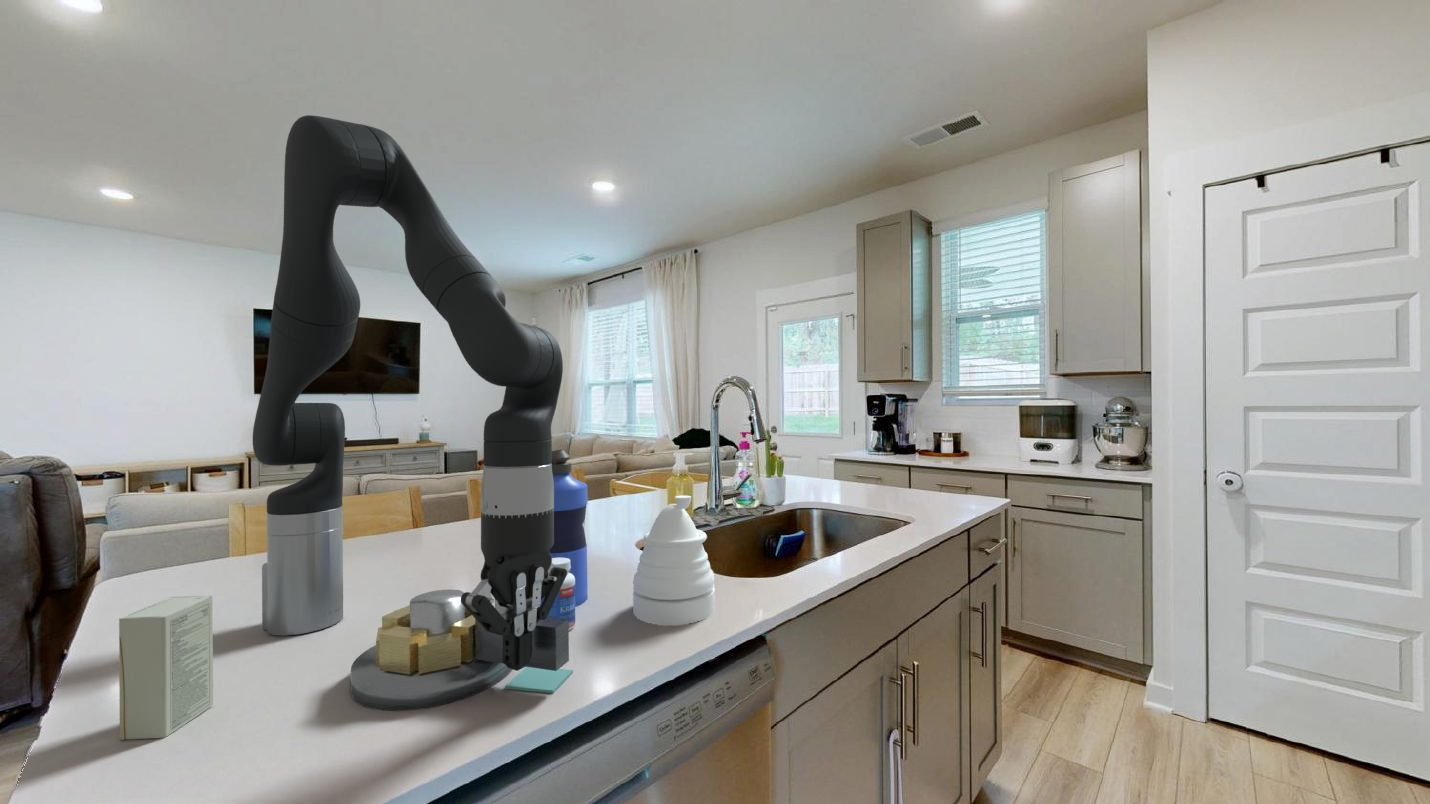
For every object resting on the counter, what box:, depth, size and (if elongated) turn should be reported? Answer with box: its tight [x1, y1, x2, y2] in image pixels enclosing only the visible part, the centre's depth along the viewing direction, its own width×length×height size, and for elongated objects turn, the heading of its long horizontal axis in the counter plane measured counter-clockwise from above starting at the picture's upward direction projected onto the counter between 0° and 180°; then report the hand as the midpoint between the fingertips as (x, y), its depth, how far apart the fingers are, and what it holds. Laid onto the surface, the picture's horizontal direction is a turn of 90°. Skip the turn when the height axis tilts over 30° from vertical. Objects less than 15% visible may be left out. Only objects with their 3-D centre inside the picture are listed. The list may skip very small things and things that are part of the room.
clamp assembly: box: [375, 604, 570, 674], centre depth 68 cm, size 24×13×5 cm, turn 73°
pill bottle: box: [540, 558, 576, 631], centre depth 82 cm, size 6×5×10 cm
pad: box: [504, 667, 574, 694], centre depth 67 cm, size 6×5×1 cm
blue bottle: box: [549, 449, 589, 608], centre depth 94 cm, size 9×9×25 cm
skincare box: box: [118, 595, 214, 741], centre depth 58 cm, size 6×4×12 cm
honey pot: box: [632, 494, 716, 626], centre depth 89 cm, size 13×13×18 cm
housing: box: [350, 589, 513, 712], centre depth 69 cm, size 18×18×9 cm
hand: (517, 666), depth 61 cm, fingers closed
